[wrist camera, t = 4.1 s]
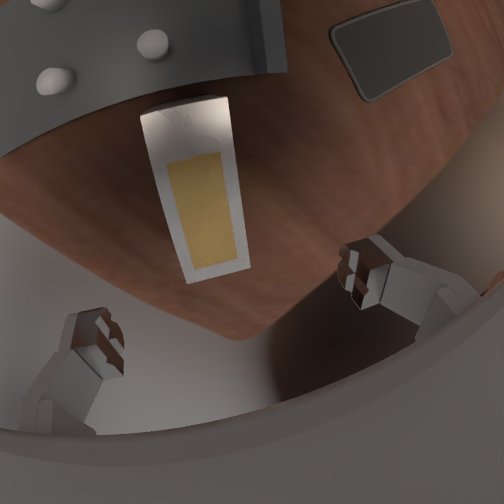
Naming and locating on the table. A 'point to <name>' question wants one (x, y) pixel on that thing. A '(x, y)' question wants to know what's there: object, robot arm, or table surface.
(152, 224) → the table surface
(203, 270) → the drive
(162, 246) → the table surface
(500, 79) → the table surface
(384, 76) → the smartphone
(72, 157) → the table surface
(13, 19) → the tray
